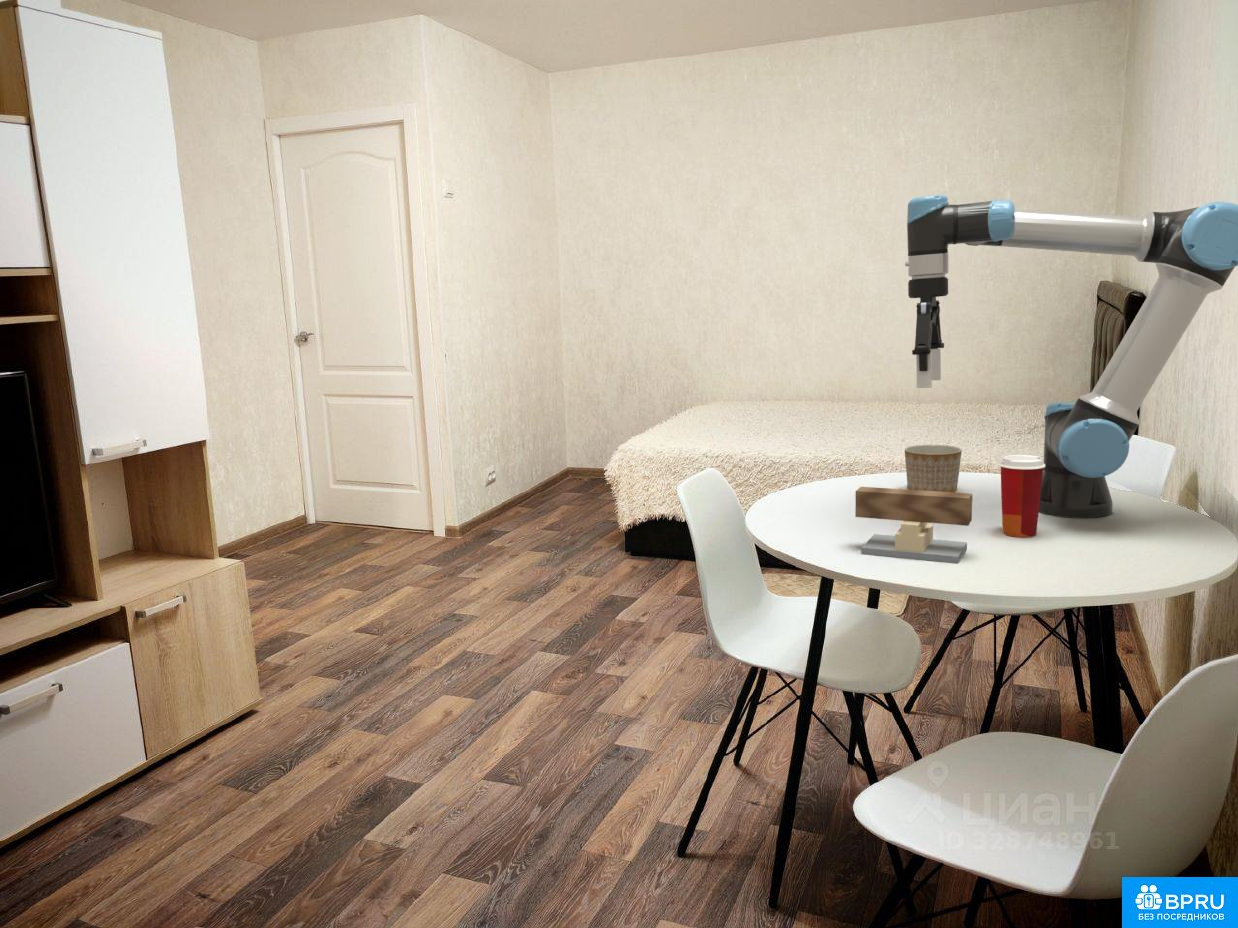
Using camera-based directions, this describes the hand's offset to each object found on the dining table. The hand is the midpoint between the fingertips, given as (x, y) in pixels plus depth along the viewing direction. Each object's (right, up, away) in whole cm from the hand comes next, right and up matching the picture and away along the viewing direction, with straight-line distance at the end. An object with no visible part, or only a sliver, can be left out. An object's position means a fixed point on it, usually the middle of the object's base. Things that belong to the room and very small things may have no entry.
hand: (929, 384), depth 182 cm
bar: (-9, -26, -16) cm, 32 cm away
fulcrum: (-8, -32, -15) cm, 37 cm away
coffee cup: (+15, -30, -7) cm, 34 cm away
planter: (+11, -23, +31) cm, 40 cm away
